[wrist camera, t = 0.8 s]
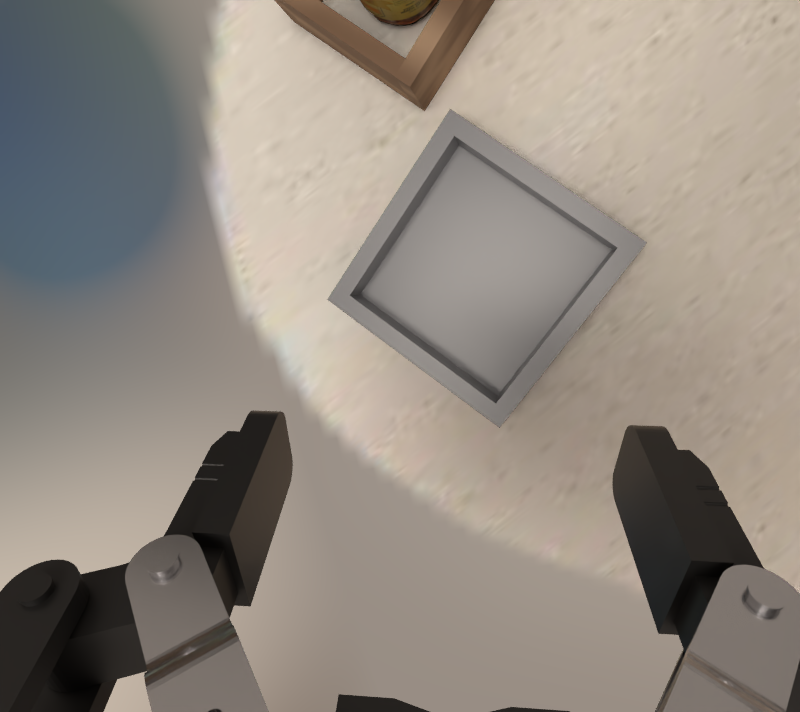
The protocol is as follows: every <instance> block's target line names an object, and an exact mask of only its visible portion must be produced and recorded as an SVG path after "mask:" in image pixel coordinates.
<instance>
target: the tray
mask: <svg viewBox="0 0 800 712" xmlns="http://www.w3.org/2000/svg"><path fill="white" fill-rule="evenodd" d="M646 243H647V242H645V241H644V240H642V239H641V238H639V237H638V236H636V235H635V234H634V233H632V232H631V231H629V230H628V229H626V228H625V227H623V226H622V225H620V224H619V223H617V222H616V221H614V220H613V219H611V218H610V217H609V216H607V215H606V214H604V213H603V212H601V211H600V210H598V209H597V208H595V207H594V206H592V205H591V204H589V203H588V202H586V201H585V200H584V199H582V198H581V197H579V196H578V195H576V194H575V193H573V192H572V191H570V190H569V189H567V188H566V187H564V186H563V185H561V184H560V183H558V182H557V181H556V180H554V179H553V178H551V177H550V176H548V175H547V174H545V173H544V172H542V171H541V170H539V169H538V168H536V167H535V166H533V165H532V164H531V163H529V162H528V161H526V160H525V159H523V158H522V157H520V156H519V155H517V154H516V153H514V152H513V151H511V150H510V149H508V148H507V147H505V146H504V145H503V144H501V143H500V142H498V141H497V140H495V139H494V138H492V137H491V136H489V135H488V134H486V133H485V132H483V131H482V130H480V129H479V128H478V127H476V126H475V125H473V124H472V123H470V122H469V121H467V120H466V119H464V118H463V117H461V116H460V115H458V114H457V113H455V112H454V111H452V110H451V109H450V110H449V112H448V113H447V115H446V116H445V118H444V119H443V121H442V123H441V124H440V126H439V127H438V129H437V130H436V132H435V133H434V135H433V137H432V138H431V140H430V141H429V143H428V144H427V146H426V147H425V149H424V150H423V152H422V154H421V155H420V157H419V158H418V160H417V161H416V163H415V164H414V166H413V168H412V169H411V171H410V172H409V174H408V175H407V177H406V178H405V180H404V182H403V183H402V185H401V186H400V188H399V189H398V191H397V192H396V194H395V195H394V197H393V199H392V200H391V202H390V203H389V205H388V206H387V208H386V209H385V211H384V213H383V214H382V216H381V217H380V219H379V220H378V222H377V223H376V225H375V227H374V228H373V230H372V231H371V233H370V234H369V236H368V237H367V239H366V240H365V242H364V244H363V245H362V247H361V248H360V250H359V251H358V253H357V254H356V256H355V258H354V259H353V261H352V262H351V264H350V265H349V267H348V268H347V270H346V272H345V273H344V275H343V276H342V278H341V279H340V281H339V282H338V284H337V285H336V287H335V289H334V290H333V292H332V293H331V295H330V296H329V298H328V299H327V300H329V301H330V302H331V303H333V304H334V305H335V306H337V307H338V308H339V309H341V310H342V311H343V312H345V313H346V314H347V315H349V316H350V317H351V318H353V319H354V320H356V321H357V322H358V323H360V324H361V325H362V326H364V327H365V328H366V329H368V330H369V331H370V332H372V333H373V334H374V335H376V336H377V337H378V338H380V339H381V340H382V341H384V342H385V343H386V344H388V345H389V346H390V347H392V348H393V349H394V350H396V351H397V352H398V353H400V354H401V355H402V356H404V357H405V358H407V359H408V360H409V361H411V362H412V363H413V364H415V365H416V366H417V367H419V368H420V369H421V370H423V371H424V372H425V373H427V374H428V375H429V376H431V377H432V378H433V379H435V380H436V381H437V382H439V383H440V384H441V385H443V386H444V387H445V388H447V389H448V390H449V391H451V392H452V393H453V394H455V395H456V396H458V397H459V398H460V399H462V400H463V401H464V402H466V403H467V404H468V405H470V406H471V407H472V408H474V409H475V410H476V411H478V412H479V413H480V414H482V415H483V416H484V417H486V418H487V419H488V420H490V421H491V422H492V423H494V424H495V425H496V426H498V427H499V428H500V427H501V426H502V424H503V423H504V422H505V421H506V419H507V418H508V417H509V416H510V414H511V413H512V412H513V410H514V409H515V408H516V407H517V405H518V404H519V403H520V402H521V400H522V399H523V398H524V397H525V395H526V394H527V393H528V392H529V390H530V389H531V388H532V387H533V385H534V384H535V383H536V382H537V380H538V379H539V378H540V377H541V375H542V374H543V373H544V372H545V370H546V369H547V368H548V366H549V365H550V364H551V363H552V361H553V360H554V359H555V358H556V356H557V355H558V354H559V353H560V351H561V350H562V349H563V348H564V346H565V345H566V344H567V343H568V341H569V340H570V339H571V338H572V336H573V335H574V334H575V333H576V331H577V330H578V329H579V328H580V326H581V325H582V324H583V322H584V321H585V320H586V319H587V317H588V316H589V315H590V314H591V312H592V311H593V310H594V309H595V307H596V306H597V305H598V304H599V302H600V301H601V300H602V299H603V297H604V296H605V295H606V294H607V292H608V291H609V290H610V289H611V287H612V286H613V285H614V283H615V282H616V281H617V280H618V278H619V277H620V276H621V275H622V273H623V272H624V271H625V270H626V268H627V267H628V266H629V265H630V263H631V262H632V261H633V260H634V258H635V257H636V256H637V255H638V253H639V252H640V251H641V250H642V248H643V247H644V246H645V245H646Z"/></svg>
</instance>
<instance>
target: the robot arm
mask: <svg viewBox="0 0 800 712" xmlns="http://www.w3.org/2000/svg"><path fill="white" fill-rule="evenodd" d="M202 464H203V465H202V467H200V469H199V471H198V473H197V474H196V476H195V481H193V482H192V484H191V486H190V488H189V490H188V492H187V493H186V495H185V497H184V499H183V501H182V503H181V505H180V507H179V509H178V511H177V513H176V514H175V516H174V518H173V520H172V522H171V524H170V526H169V528H168V530H167V532H166V533H165V535H164V536H163V537H161V538H158V539H156V540H154V541H152V542H150V543H148V544H147V545H145V546H144V547H143V548H141V549H140V550H139V551H138V552H137V553H136V554H135V555H134V557H133V558H132V559H131V561H130V562H129V563H127V564H123V565H120V566H116V567H111V568H107V569H103V570H98V571H94V572H89V573H85V574H80V572H79V571H78V569H77V567H76V566H75V565H74V564H72V563H70V562H69V561H65V560H50V561H45V562H42V563H39V564H36V565H34V566H31V567H29V568H28V569H26V570H24V571H22V572H21V573H20V574H18V575H17V576H15V577H14V578H13V579H12V580H11V581H10V582H9V583H8V584H7V585H6V586H5V587H4V588H3V589H2V591H1V592H0V712H103V711H104V709H105V707H106V704H107V702H108V700H109V697H110V695H111V693H112V690H113V688H114V685H115V683H116V681H117V679H119V678H123V677H127V676H130V675H134V674H138V673H141V672H145V671H147V672H146V673H145V675H144V677H145V684H146V689H147V693H148V697H149V701H150V706H151V710H152V712H269V711H268V709H267V706H266V704H265V701H264V699H263V696H262V694H261V691H260V689H259V686H258V684H257V682H256V679H255V677H254V674H253V672H252V669H251V667H250V665H249V662H248V659H247V657H246V655H245V652H244V650H243V647H242V645H241V642H240V640H239V637H238V635H237V633H236V630H235V628H234V626H233V625H232V623H231V621H230V619H229V618H230V615H231V612H232V609H233V607H234V605H238V606H251V603H252V600H253V597H254V594H255V591H256V588H257V584H258V581H259V578H260V575H261V572H262V569H263V566H264V563H265V560H266V557H267V554H268V550H269V547H270V544H271V541H272V538H273V535H274V532H275V529H276V526H277V523H278V520H279V516H280V513H281V510H282V507H283V504H284V501H285V498H286V495H287V491H288V488H289V486H290V482H291V477H292V466H293V464H292V454H291V448H290V443H289V437H288V431H287V425H286V420H285V416H284V413H283V412H277V411H251V412H250V413H249V414H248V416H247V418H246V420H245V422H244V424H243V427H242V428H241V430H240V432H236V431H227V432H226V433H225V434H224V435H223V436H222V437H221V438H220V439H219V440H217V441H216V442H215V443H214V444H213V445H212V446H211V448H210V450H209V451H208V453H207V455H206V457H205V459H204V461H203V463H202ZM613 494H614V499H615V502H616V505H617V509H618V512H619V515H620V518H621V521H622V524H623V527H624V530H625V533H626V536H627V539H628V542H629V545H630V548H631V551H632V554H633V557H634V560H635V563H636V566H637V570H638V573H639V576H640V579H641V582H642V585H643V588H644V591H645V594H646V597H647V600H648V603H649V606H650V609H651V612H652V615H653V618H654V621H655V624H656V627H657V630H658V633H659V634H674V635H675V634H676V635H679V637H680V640H681V643H682V646H683V648H684V649H683V651H682V653H681V655H680V657H679V659H678V661H677V663H676V666H675V668H674V670H673V672H672V675H671V677H670V679H669V681H668V683H667V686H666V688H665V690H664V692H663V695H662V697H661V699H660V701H659V703H658V706H657V708H656V710H655V712H800V594H799V593H798V592H797V591H796V590H795V589H794V587H792V586H791V585H790V584H789V583H788V582H787V581H785V580H784V579H782V578H781V577H779V576H778V575H776V574H774V573H772V572H770V571H768V570H766V569H764V568H763V566H762V564H761V562H760V561H759V559H758V557H757V555H756V553H755V552H754V550H753V548H752V546H751V544H750V542H749V541H748V539H747V537H746V535H745V533H744V531H743V530H742V528H741V526H740V524H739V522H738V521H737V519H736V517H735V515H734V513H733V511H732V510H731V508H730V507H728V505H727V504H728V502H727V500H726V499H725V497H724V495H723V493H722V491H719V486H718V484H717V482H716V480H715V479H714V477H713V475H712V473H711V471H710V469H709V468H708V467H707V466H706V465H705V464H704V463H703V462H702V461H701V460H700V459H699V458H697V457H696V456H695V455H694V454H693V453H692V452H691V451H690V450H677V448H676V446H675V444H674V442H673V440H672V438H671V436H670V434H669V432H668V430H667V429H666V428H665V427H663V426H636V425H630V426H628V427H627V429H626V431H625V434H624V438H623V441H622V445H621V448H620V452H619V455H618V459H617V462H616V466H615V469H614V473H613ZM336 712H429V711H426V710H424V709H421V708H418V707H415V706H413V705H410V704H408V703H405V702H402V701H399V700H397V699H393V698H380V697H379V698H378V697H367V696H353V695H339V697H338V702H337V708H336ZM492 712H569V711H558V710H545V709H544V710H543V709H531V708H516V707H510V708H506V709H501V710H496V711H492Z"/></svg>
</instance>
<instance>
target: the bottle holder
mask: <svg viewBox="0 0 800 712" xmlns="http://www.w3.org/2000/svg"><path fill="white" fill-rule="evenodd" d="M275 1H276V2H277V4H278V5H279V6H280V7H281V8H282V9H283V10H284V11H285V12H286V13H287V15H288V16H289V17H290V18H291V19H292V20H293V21H294V22H295V23H297V24H298V25H300V26H301V27H303V28H304V29H306V30H307V31H308V32H310V33H311V34H313V35H314V36H316V37H317V38H319V39H320V40H322V41H323V42H325V43H326V44H327V45H329V46H330V47H332V48H333V49H335V50H336V51H338V52H339V53H341V54H342V55H344V56H345V57H346V58H348V59H349V60H351V61H352V62H354V63H355V64H357V65H358V66H360V67H361V68H363V69H364V70H365V71H367V72H368V73H370V74H371V75H373V76H374V77H376V78H377V79H379V80H380V81H382V82H383V83H384V84H386V85H387V86H389V87H390V88H392V89H393V90H395V91H396V92H398V93H399V94H401V95H402V96H403V97H405V98H406V99H408V100H409V101H411V102H412V103H414V104H415V105H417V106H418V107H420V108H421V109H423V110H424V111H425V109H426V108H427V106H428V105H429V103H430V102H431V100H432V98H433V97H434V95H435V94H436V92H437V90H438V89H439V87H440V86H441V84H442V83H443V81H444V79H445V78H446V76H447V75H448V73H449V71H450V70H451V68H452V67H453V65H454V64H455V62H456V60H457V59H458V57H459V56H460V54H461V53H462V51H463V49H464V48H465V46H466V45H467V43H468V41H469V40H470V38H471V37H472V35H473V34H474V32H475V30H476V29H477V27H478V26H479V24H480V22H481V21H482V19H483V18H484V16H485V15H486V13H487V11H488V10H489V8H490V7H491V5H492V3H493V2H494V0H441V1H440V3H439V4H438V6H437V8H436V9H435V11H434V13H433V14H432V16H431V17H430V19H429V21H428V22H427V24H426V26H425V27H424V29H423V31H422V32H421V34H420V36H419V37H418V39H417V41H416V42H415V44H414V45H413V47H412V49H411V50H410V52H409V54H408V55H407V57H406V59H405V58H403V57H402V56H400V55H399V54H398V53H396V52H395V51H393V50H392V49H390V48H389V47H387V46H386V45H384V44H383V43H381V42H380V41H378V40H377V39H375V38H374V37H372V36H371V35H369V34H368V33H366V32H365V31H363V30H362V29H360V28H359V27H358V26H356V25H355V24H353V23H352V22H350V21H349V20H347V19H346V18H344V17H343V16H341V15H340V14H338V13H337V12H335V11H334V10H332V9H331V8H329V7H328V6H326V5H325V4H323V3H322V1H323V0H275Z"/></svg>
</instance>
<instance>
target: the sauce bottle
mask: <svg viewBox="0 0 800 712" xmlns="http://www.w3.org/2000/svg"><path fill="white" fill-rule="evenodd" d="M360 1H361V3H362V4H363V6H364V7H365V8H366V9H367V10H368V11H370V12H371V13H372V14H374V16H375V17H376V18H377V19H378V20H380V21H384V22H387V23H389V24H404V25H407V24H411V23H414V22H415V21H417V20H418V19H420V18H421V17H423V16H424V15H425V14H426V13H427V12H428V11H429V10H431V9H432V7H433V5H434V4H435V3H436V2H437V1H438V0H360Z"/></svg>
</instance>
